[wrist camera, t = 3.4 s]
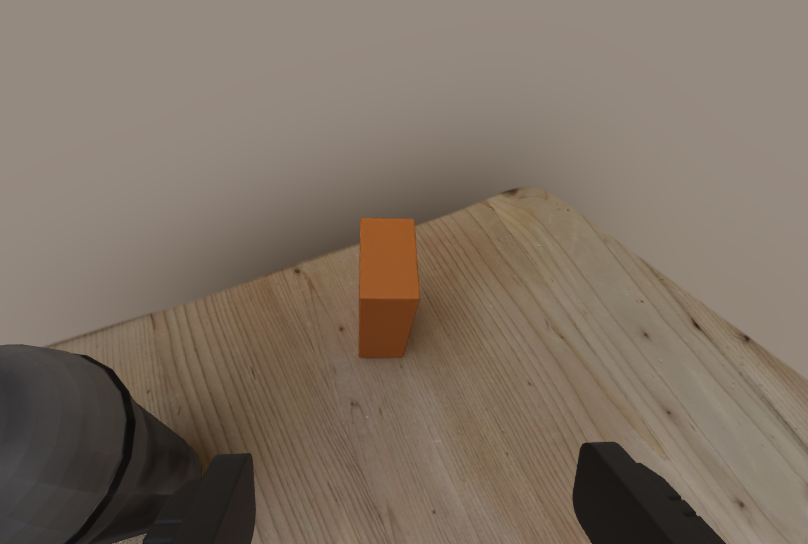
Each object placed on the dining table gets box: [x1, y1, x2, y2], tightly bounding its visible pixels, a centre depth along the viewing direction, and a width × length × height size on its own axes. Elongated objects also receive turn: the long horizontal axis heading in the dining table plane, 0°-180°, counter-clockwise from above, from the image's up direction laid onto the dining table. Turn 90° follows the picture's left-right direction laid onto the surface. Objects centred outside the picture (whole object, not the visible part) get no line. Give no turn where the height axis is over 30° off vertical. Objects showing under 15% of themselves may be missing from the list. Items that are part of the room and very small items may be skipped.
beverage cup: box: [0, 345, 201, 544], centre depth 15 cm, size 7×7×20 cm
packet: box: [359, 218, 420, 358], centre depth 25 cm, size 3×5×9 cm, turn 2°
